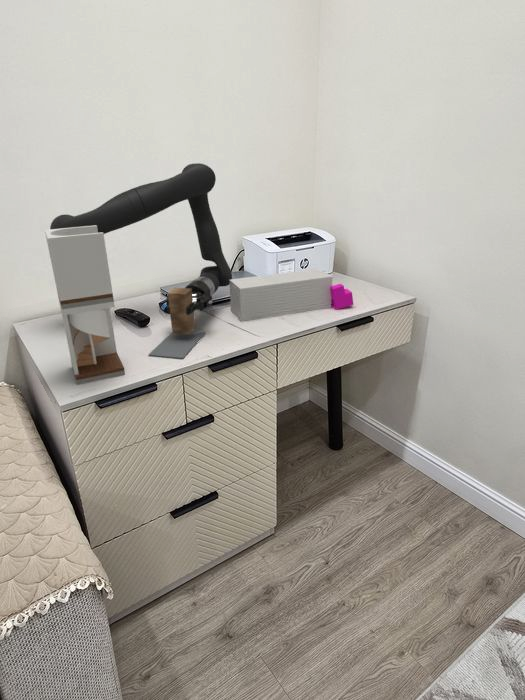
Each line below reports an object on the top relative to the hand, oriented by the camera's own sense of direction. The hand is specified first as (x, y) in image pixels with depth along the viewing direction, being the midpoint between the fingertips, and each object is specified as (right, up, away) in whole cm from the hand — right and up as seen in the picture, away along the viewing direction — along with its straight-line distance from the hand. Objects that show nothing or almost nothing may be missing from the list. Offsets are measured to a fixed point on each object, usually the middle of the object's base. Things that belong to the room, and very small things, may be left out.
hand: (178, 310), depth 135 cm
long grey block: (+30, +3, +28) cm, 41 cm away
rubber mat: (0, -9, +3) cm, 10 cm away
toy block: (+49, +6, +33) cm, 59 cm away
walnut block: (+1, -5, +5) cm, 7 cm away
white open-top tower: (-18, -16, -12) cm, 27 cm away
